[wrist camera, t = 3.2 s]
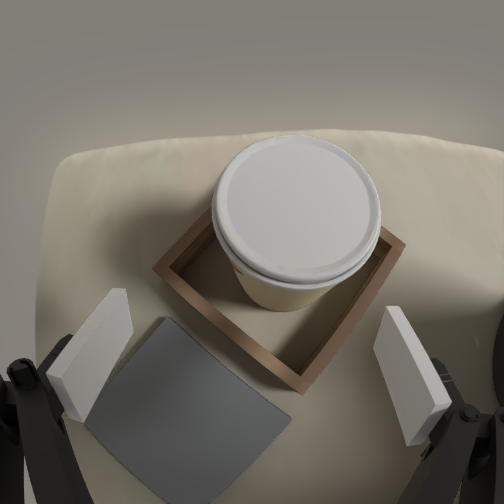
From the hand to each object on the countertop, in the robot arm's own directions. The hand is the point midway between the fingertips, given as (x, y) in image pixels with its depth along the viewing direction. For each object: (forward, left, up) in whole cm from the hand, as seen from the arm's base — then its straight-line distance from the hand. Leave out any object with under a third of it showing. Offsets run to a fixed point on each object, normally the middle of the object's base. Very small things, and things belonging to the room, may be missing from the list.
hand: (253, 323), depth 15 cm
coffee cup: (+2, -6, -11) cm, 13 cm away
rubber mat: (0, +10, -11) cm, 14 cm away
